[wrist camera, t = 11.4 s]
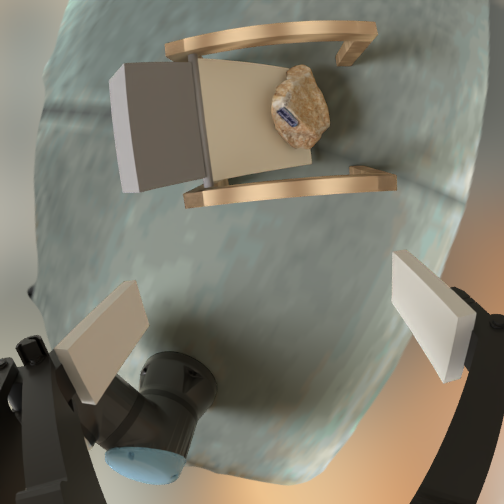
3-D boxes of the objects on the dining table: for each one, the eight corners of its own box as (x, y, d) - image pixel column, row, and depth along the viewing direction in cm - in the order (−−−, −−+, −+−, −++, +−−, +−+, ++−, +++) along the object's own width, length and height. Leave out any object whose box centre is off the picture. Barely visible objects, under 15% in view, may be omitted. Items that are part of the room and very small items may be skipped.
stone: (251, 106, 32) (281, 98, 28) (293, 63, 35) (321, 55, 31) (289, 160, 37) (318, 159, 33) (323, 112, 40) (350, 108, 36)
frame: (215, 189, 44) (185, 208, 31) (200, 71, 38) (164, 43, 25) (363, 176, 41) (397, 190, 28) (349, 56, 35) (375, 21, 22)
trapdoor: (124, 202, 29) (141, 203, 26) (108, 72, 25) (123, 53, 21) (284, 168, 44) (312, 167, 40) (273, 75, 39) (300, 66, 35)
